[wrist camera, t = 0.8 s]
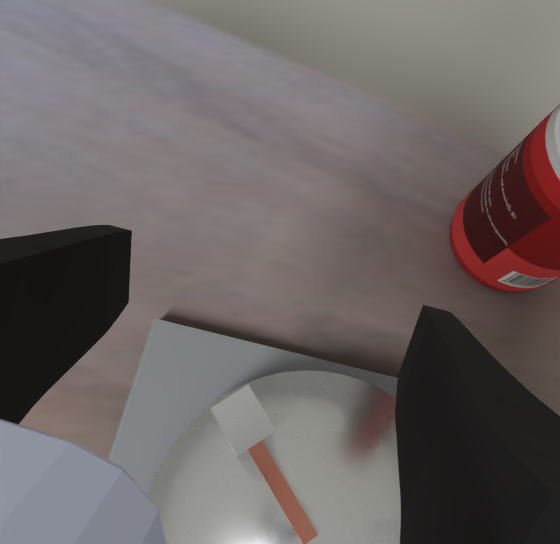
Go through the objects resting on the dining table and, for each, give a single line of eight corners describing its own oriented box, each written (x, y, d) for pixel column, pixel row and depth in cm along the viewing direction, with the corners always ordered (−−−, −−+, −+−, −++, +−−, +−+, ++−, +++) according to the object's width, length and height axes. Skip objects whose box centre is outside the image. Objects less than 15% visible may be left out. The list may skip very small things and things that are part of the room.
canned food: (576, 258, 33) (740, 172, 23) (498, 319, 31) (643, 254, 21) (502, 174, 35) (624, 59, 25) (422, 226, 32) (521, 123, 22)
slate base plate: (484, 802, 22) (499, 820, 21) (30, 711, 21) (19, 727, 20) (501, 407, 29) (513, 405, 28) (155, 322, 28) (153, 317, 27)
